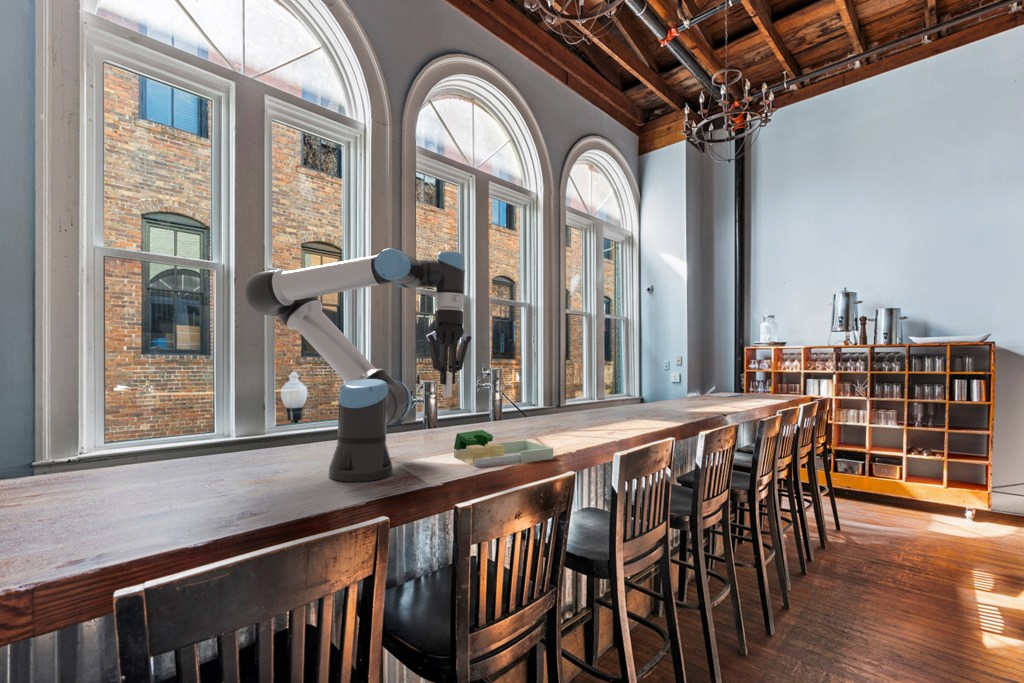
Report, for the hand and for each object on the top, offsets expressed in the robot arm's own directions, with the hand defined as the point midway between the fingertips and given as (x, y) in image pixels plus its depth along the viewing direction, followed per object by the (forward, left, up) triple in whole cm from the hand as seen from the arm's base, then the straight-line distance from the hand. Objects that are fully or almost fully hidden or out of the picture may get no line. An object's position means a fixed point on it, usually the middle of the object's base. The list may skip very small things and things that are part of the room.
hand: (447, 396), depth 137 cm
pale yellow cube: (+15, 0, -18) cm, 24 cm away
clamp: (+17, +16, -19) cm, 30 cm away
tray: (+26, 0, -19) cm, 32 cm away
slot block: (+13, 0, -19) cm, 23 cm away
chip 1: (+9, 0, -18) cm, 21 cm away
